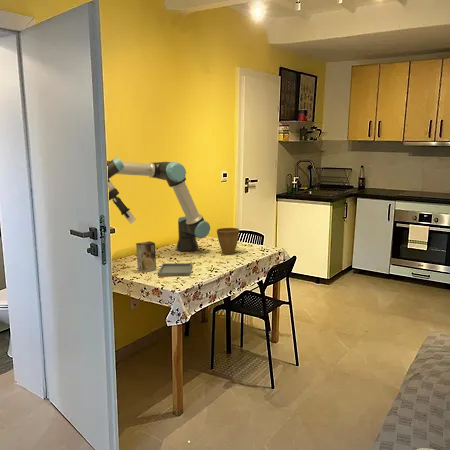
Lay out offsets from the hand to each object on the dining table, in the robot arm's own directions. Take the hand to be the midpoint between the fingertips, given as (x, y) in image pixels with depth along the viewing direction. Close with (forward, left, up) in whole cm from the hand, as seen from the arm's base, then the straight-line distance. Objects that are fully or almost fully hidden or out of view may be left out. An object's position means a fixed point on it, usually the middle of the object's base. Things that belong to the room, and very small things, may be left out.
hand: (133, 221), depth 256 cm
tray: (+3, +23, -29) cm, 37 cm away
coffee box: (0, +6, -29) cm, 29 cm away
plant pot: (-39, +53, -29) cm, 72 cm away
